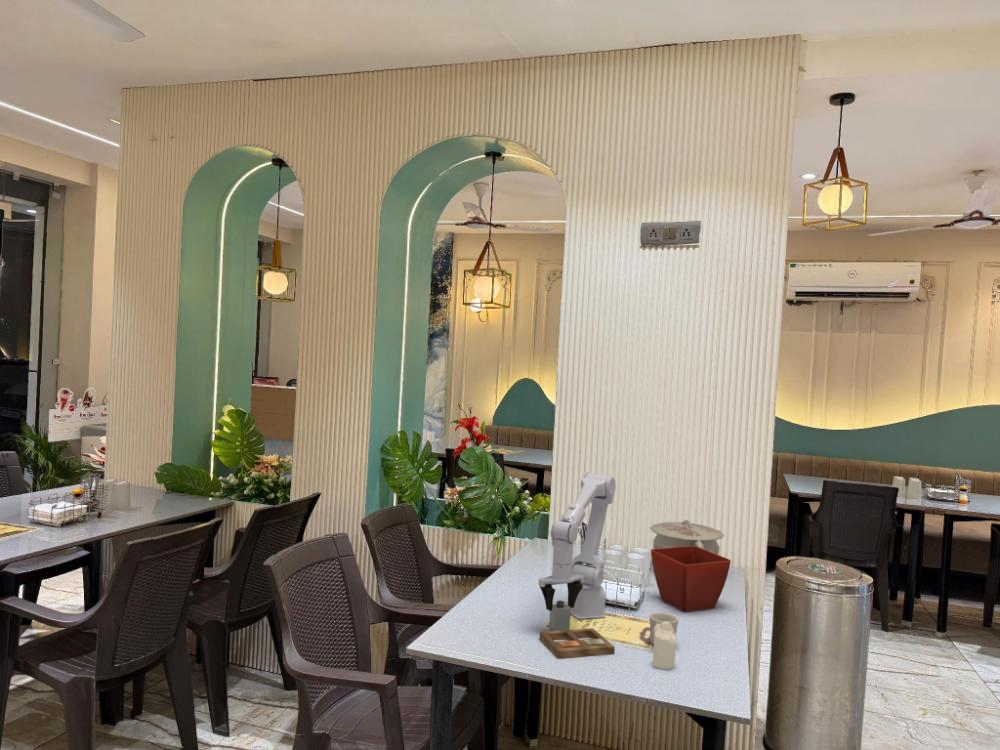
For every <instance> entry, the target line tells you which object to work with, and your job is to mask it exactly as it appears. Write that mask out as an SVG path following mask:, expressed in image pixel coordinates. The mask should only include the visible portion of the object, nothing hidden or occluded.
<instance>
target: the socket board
mask: <svg viewBox="0 0 1000 750" xmlns="http://www.w3.org/2000/svg"><path fill="white" fill-rule="evenodd" d="M539 640H540V641H541V643H543V644H544V646H545V647H546V648H547V649H549V651H550V652H551V653H552V654H553V655H554V656H555V657H556V658H557V659H559V660H560V659H570V658H572V659H573V658H582V657H583V658H585V657H594V656H607V655H615V650H616V649H615V645H613V644H612V643H611V642H610V641H609V640H607V639H606V638H605V637H604V636H603V635H601V634H600V633H599V632H598V631H597V630H595V629H594V628H579V629H577V628H576V629H569V630H561V631H552V630H551V631H540V632H539Z"/></svg>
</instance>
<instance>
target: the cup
mask: <svg viewBox="0 0 1000 750" xmlns="http://www.w3.org/2000/svg"><path fill="white" fill-rule="evenodd" d="M666 621H667V622H669V623H670V624H672V628H673V630H674V631H675V634H676V635H677V631H678V625H679V618H678V616H676V615H674V614H672V613H667V612H661V611H660V612H653V613H650V615H649V632H650V633H649V636H650V642H651V644H652V645H654V634H655V632H656V631H657V630H658V629H659V627H660V626H661V624H662V623H664V622H666Z"/></svg>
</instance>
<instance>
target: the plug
mask: <svg viewBox="0 0 1000 750" xmlns="http://www.w3.org/2000/svg"><path fill="white" fill-rule="evenodd" d="M570 609H571V607H569V606H568V605H567V604H565V601H564V600H556V604H555V603H554V604H553V607H552V611H549V619H548V621H549V624H548V628H549V629H550V630H551V631H561V630H570V625H571V623H570V621H571V620H570V619H571V613H570Z"/></svg>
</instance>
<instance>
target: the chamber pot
mask: <svg viewBox="0 0 1000 750" xmlns="http://www.w3.org/2000/svg"><path fill="white" fill-rule="evenodd" d="M649 529H650V531H651V532H653V533H655V534H656V535H655V537H654V538H653V540H652V548H653V549H662V548H673V547H685V546H697V547H699V548H702V549H704V550H707V551H709V552H712V553H714V554H717V555H719V556H720V545H719V544H718V540H720V539H723V538H724V536H725V534H724V533H723V532H722V531H720V530H718V529H716V528H714V527H710V526H707V525H704V524H700V523H699V524H698V523H693V522H691V521H690V520H688V519H685V520H683V521H668V522H666V521H665V522H659V523H655V524H653V525H651V526H650V527H649Z"/></svg>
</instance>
